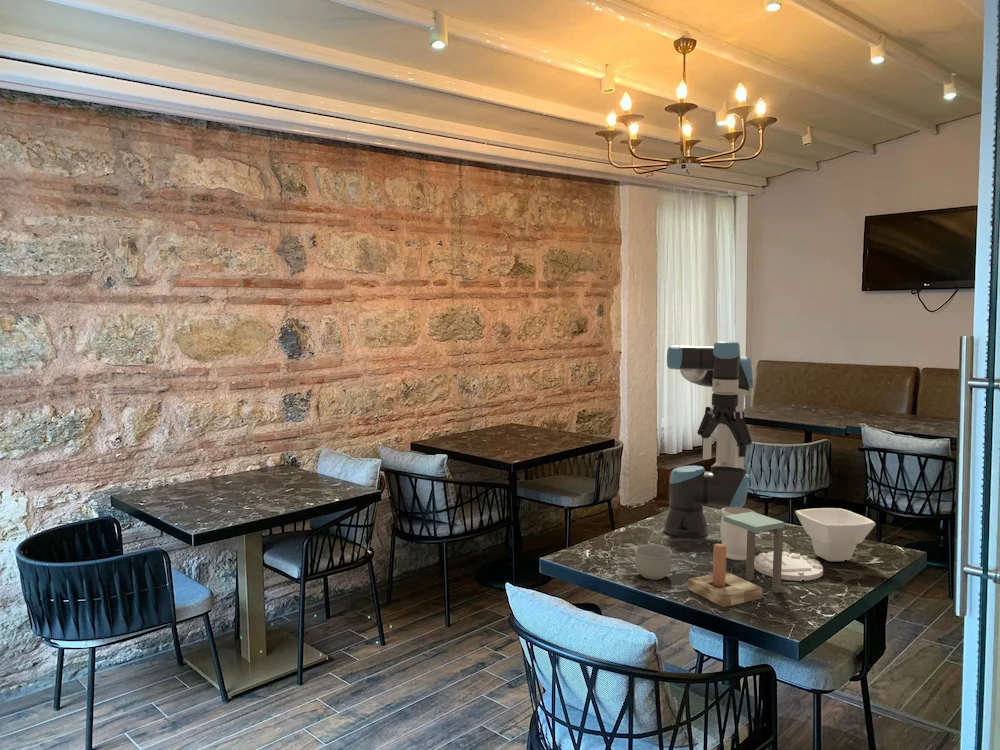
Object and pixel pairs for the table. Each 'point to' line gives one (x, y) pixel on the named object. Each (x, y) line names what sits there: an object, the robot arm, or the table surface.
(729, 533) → the jar
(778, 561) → the green-topped stool
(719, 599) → the socket block
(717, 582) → the peg
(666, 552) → the teacup
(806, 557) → the white round plaque
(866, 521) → the bowl
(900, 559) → the table surface
